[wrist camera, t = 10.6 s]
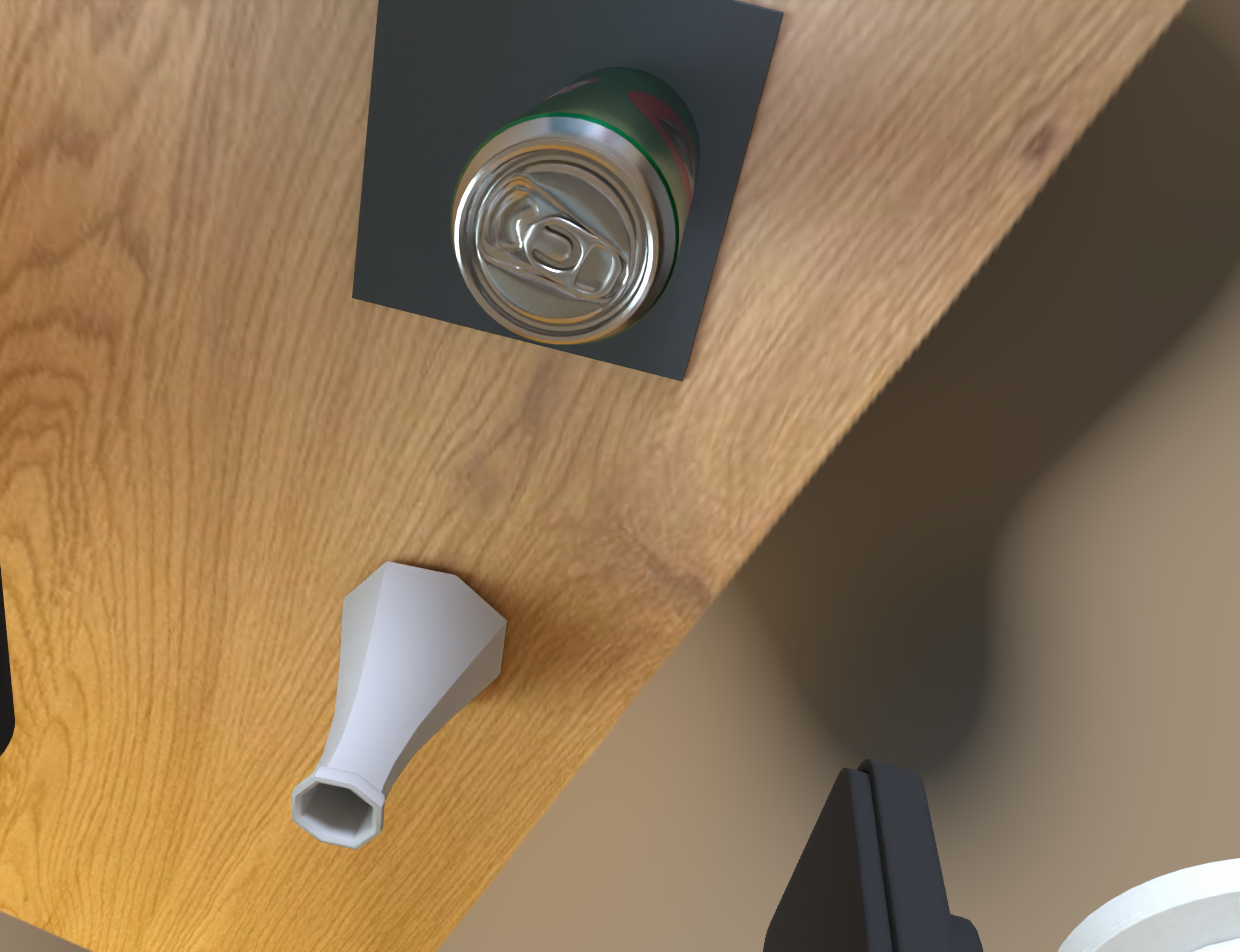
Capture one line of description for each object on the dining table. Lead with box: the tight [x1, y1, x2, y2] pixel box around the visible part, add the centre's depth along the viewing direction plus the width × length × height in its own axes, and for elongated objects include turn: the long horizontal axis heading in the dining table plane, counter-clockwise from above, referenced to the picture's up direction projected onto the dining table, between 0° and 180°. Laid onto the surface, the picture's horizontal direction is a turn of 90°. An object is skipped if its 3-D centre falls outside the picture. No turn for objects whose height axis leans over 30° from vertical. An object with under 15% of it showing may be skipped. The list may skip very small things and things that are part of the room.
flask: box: [292, 561, 507, 850], centre depth 37 cm, size 7×7×10 cm
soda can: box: [450, 67, 701, 344], centre depth 25 cm, size 5×5×12 cm
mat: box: [352, 0, 783, 381], centre depth 31 cm, size 12×12×1 cm
